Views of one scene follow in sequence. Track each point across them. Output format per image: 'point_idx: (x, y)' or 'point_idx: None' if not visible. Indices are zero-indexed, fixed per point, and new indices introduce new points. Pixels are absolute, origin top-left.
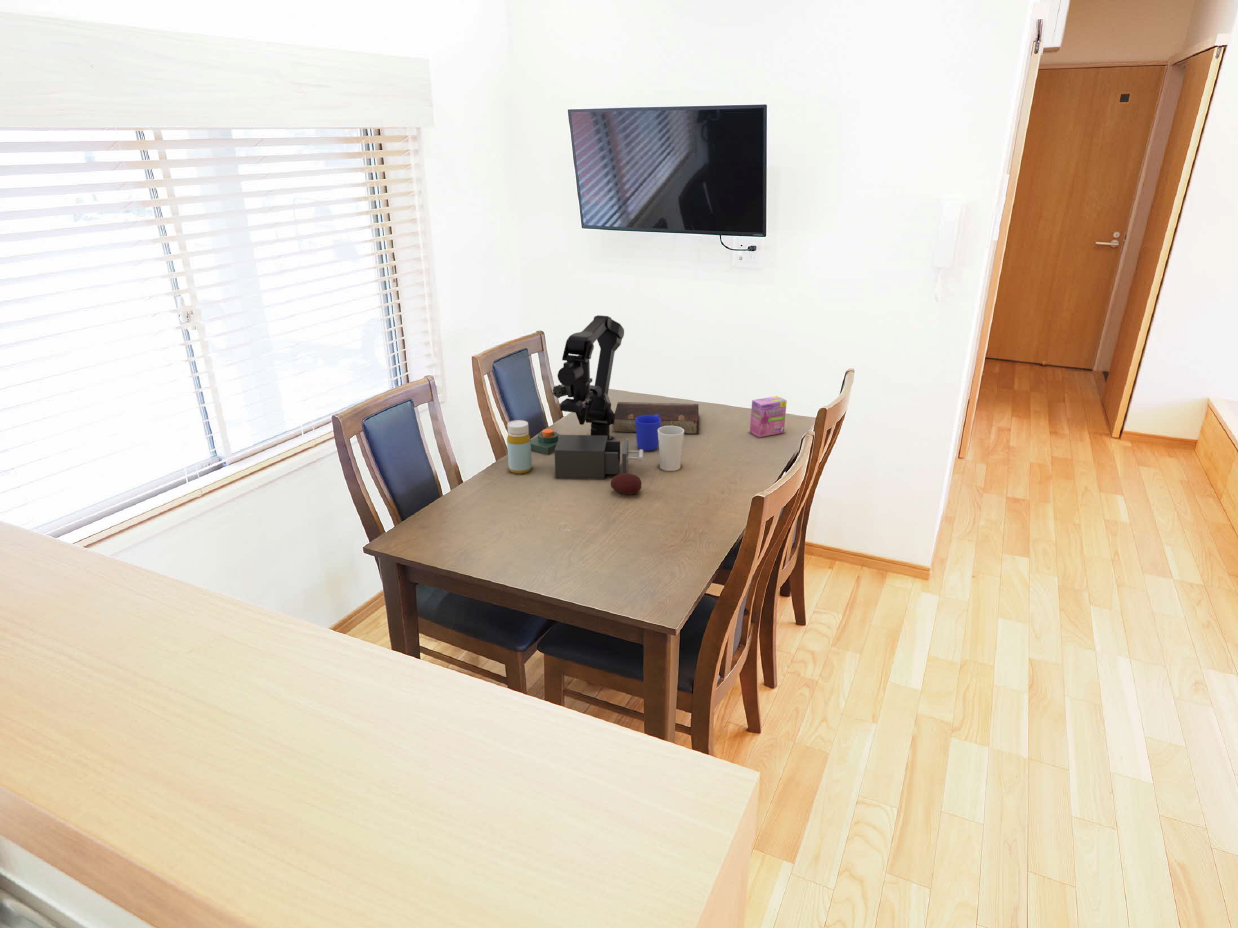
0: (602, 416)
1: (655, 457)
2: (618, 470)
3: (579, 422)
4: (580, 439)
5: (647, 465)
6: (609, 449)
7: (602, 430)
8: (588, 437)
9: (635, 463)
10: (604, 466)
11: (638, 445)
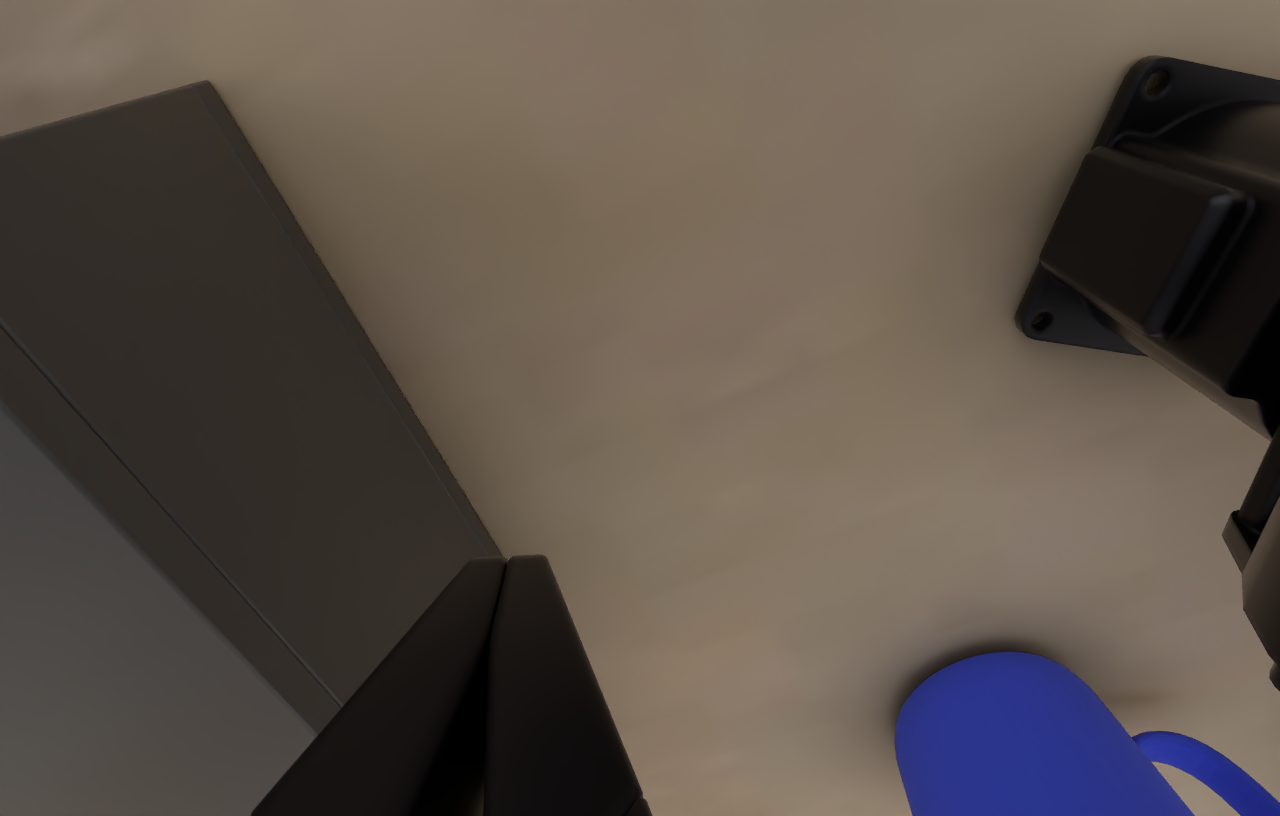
0: (1275, 652)
1: (795, 794)
2: None
3: (441, 603)
4: (5, 699)
5: None
6: None
7: (1190, 374)
8: (202, 754)
9: None
10: None
11: (934, 705)
